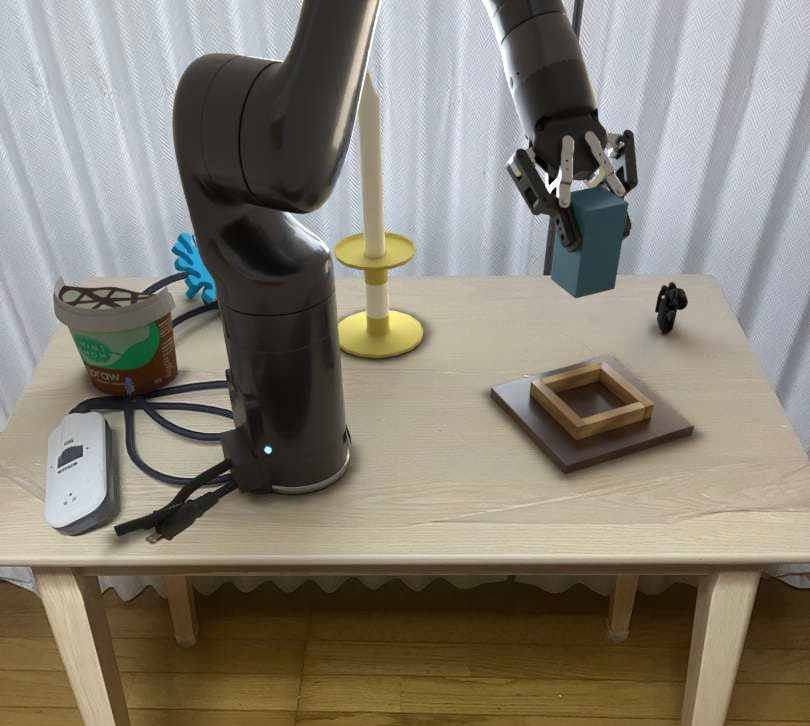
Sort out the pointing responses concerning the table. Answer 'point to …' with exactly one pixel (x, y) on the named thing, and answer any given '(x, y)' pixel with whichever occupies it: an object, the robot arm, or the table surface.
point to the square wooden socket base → (590, 413)
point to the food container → (120, 335)
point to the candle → (375, 252)
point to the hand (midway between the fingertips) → (599, 243)
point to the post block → (592, 243)
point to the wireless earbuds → (669, 306)
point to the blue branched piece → (193, 268)
